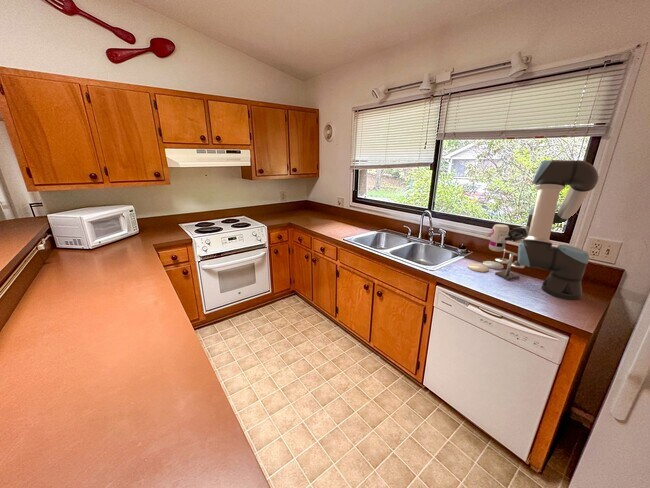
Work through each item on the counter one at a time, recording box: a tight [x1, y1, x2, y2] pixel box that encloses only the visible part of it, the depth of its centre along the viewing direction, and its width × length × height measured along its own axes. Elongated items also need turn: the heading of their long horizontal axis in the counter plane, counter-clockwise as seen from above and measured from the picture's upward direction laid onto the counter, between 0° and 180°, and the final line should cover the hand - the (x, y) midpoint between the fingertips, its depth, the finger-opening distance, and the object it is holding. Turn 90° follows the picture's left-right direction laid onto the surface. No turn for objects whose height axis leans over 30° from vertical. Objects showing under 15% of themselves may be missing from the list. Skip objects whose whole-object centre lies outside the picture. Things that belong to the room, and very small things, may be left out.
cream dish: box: [467, 262, 490, 273], centre depth 161 cm, size 11×11×1 cm
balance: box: [494, 249, 526, 281], centre depth 147 cm, size 8×19×17 cm, turn 109°
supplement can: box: [488, 223, 510, 253], centre depth 159 cm, size 8×8×15 cm
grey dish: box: [482, 260, 504, 270], centre depth 164 cm, size 11×11×1 cm
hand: (493, 236), depth 157 cm, fingers closed on supplement can, 8 cm apart
